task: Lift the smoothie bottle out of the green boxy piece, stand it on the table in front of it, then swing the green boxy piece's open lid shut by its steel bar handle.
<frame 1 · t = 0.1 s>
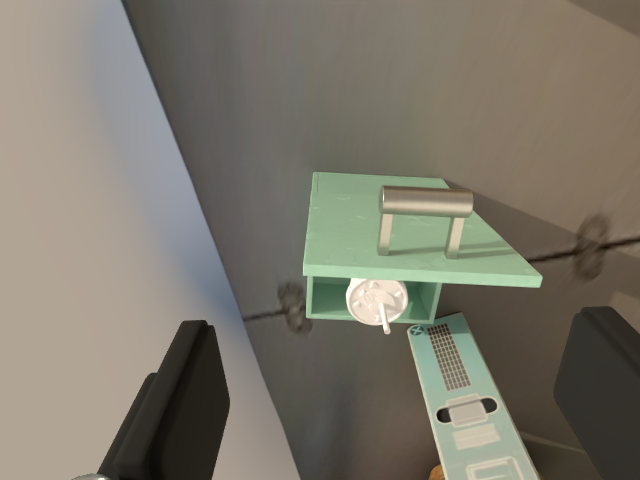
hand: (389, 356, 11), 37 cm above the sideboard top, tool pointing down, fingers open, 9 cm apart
device: (446, 360, 60), on the sideboard top
green boxy piece: (370, 234, 50), on the sideboard top
lid: (404, 201, 32), point 15 cm above the sideboard top, hinge at 95.0°
smoothie: (368, 254, 51), resting on green boxy piece
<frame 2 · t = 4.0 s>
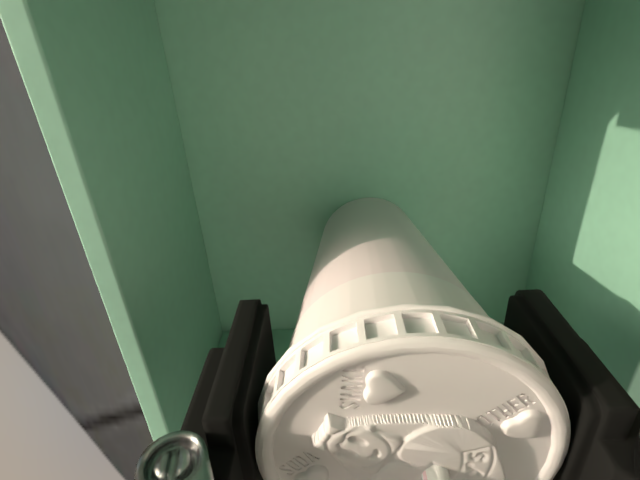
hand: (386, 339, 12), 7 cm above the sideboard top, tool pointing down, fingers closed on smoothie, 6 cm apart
green boxy piece: (366, 175, 16), on the sideboard top
smoothie: (367, 237, 17), resting on green boxy piece, touching gripper
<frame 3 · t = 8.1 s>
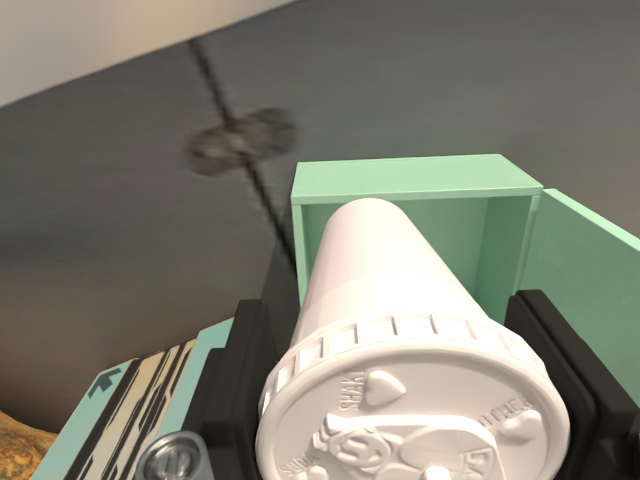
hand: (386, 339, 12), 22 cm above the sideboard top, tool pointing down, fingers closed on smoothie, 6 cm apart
device: (191, 365, 41), on the sideboard top
green boxy piece: (394, 243, 35), on the sideboard top
smoothie: (367, 237, 17), point 15 cm above the sideboard top, touching gripper
tan lumpy piece: (25, 438, 47), on the sideboard top
when the fingers open (6 cm above the sideboard top, at t = 12.3 s): smoothie stays where it is, on the sideboard top.
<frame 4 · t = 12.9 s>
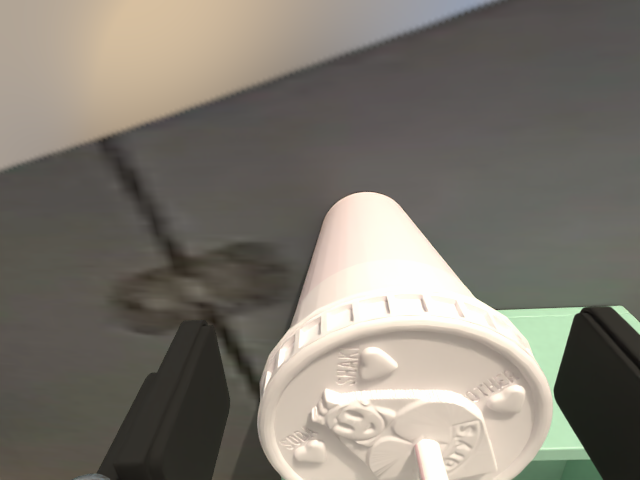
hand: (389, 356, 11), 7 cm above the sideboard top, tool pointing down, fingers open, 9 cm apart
green boxy piece: (442, 419, 23), on the sideboard top
smoothie: (364, 230, 18), on the sideboard top
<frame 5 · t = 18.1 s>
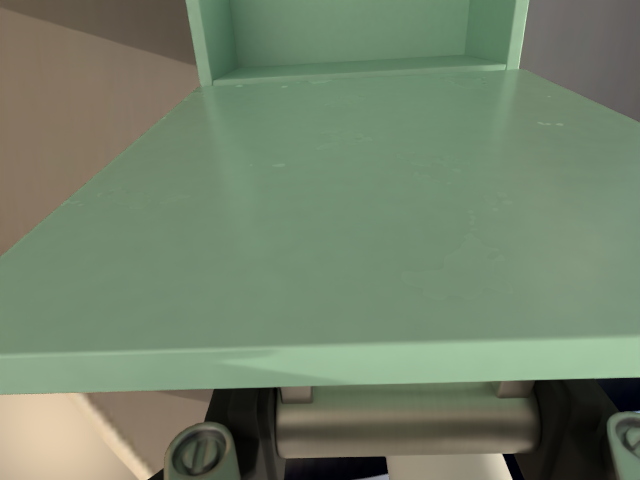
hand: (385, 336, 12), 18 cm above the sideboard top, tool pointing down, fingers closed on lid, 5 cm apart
lid: (375, 216, 13), point 15 cm above the sideboard top, hinge at 95.0°, touching gripper
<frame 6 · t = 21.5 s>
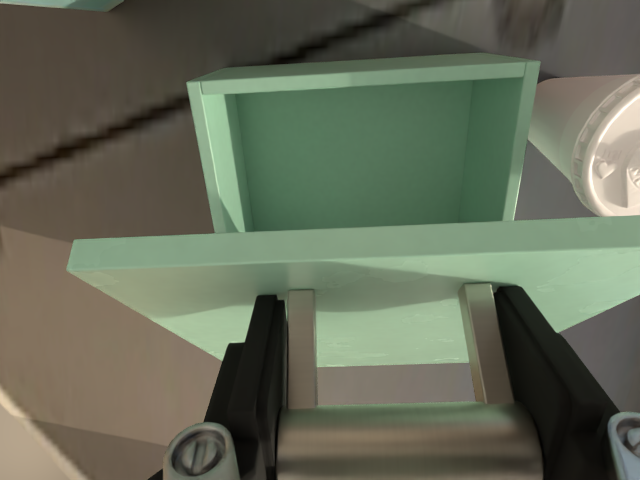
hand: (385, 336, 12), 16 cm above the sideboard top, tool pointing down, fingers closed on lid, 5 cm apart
green boxy piece: (354, 187, 27), on the sideboard top
lid: (377, 387, 15), point 14 cm above the sideboard top, hinge at 38.0°, touching gripper
smoothie: (547, 110, 25), on the sideboard top
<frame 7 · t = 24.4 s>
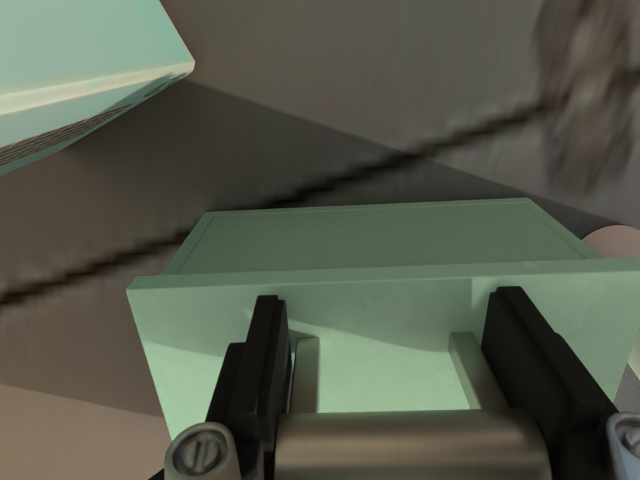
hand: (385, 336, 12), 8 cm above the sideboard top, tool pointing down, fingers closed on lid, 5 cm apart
green boxy piece: (365, 336, 22), on the sideboard top
smoothie: (604, 257, 20), on the sideboard top
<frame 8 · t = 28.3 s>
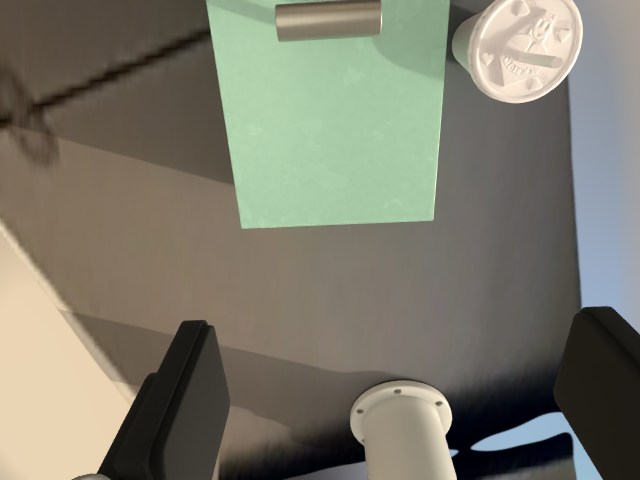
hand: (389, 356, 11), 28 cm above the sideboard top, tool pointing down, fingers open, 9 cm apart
lid: (332, 123, 26), point 10 cm above the sideboard top, hinge at -0.2°, touching green boxy piece
smoothie: (474, 41, 33), on the sideboard top
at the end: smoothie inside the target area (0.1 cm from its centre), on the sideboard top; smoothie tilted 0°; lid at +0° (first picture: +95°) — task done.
